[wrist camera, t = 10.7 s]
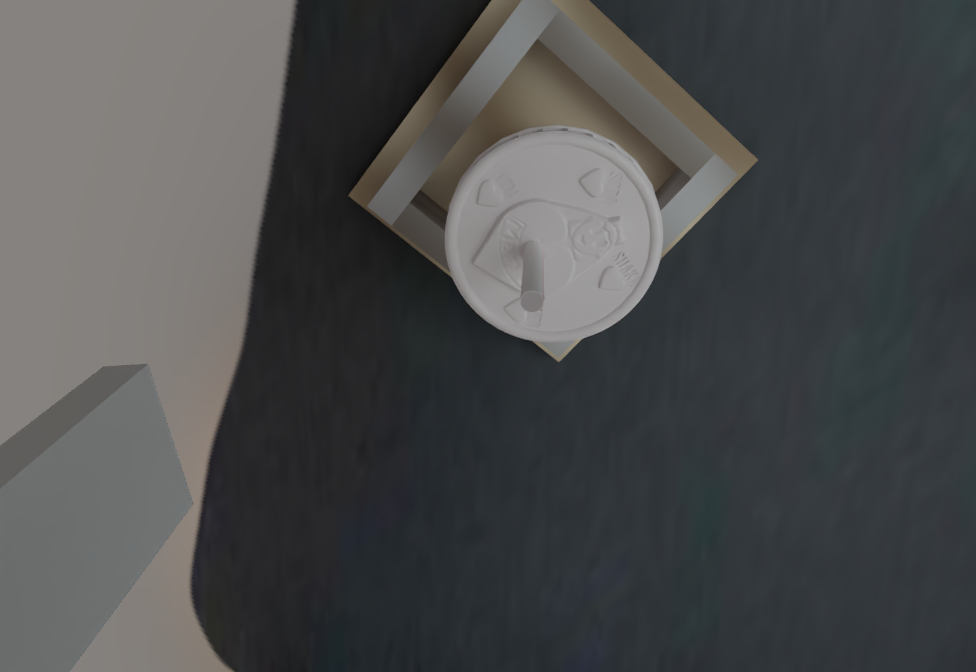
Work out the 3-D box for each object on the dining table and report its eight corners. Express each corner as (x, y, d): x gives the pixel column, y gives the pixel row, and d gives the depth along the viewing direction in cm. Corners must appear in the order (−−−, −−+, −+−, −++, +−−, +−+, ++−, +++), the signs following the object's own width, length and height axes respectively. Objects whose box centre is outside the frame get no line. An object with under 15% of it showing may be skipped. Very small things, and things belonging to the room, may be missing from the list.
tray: (531, -51, 26) (530, -63, 23) (751, 155, 29) (777, 171, 26) (353, 190, 30) (331, 209, 27) (558, 353, 33) (560, 387, 30)
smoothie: (455, 119, 28) (382, 193, 15) (612, 79, 27) (677, 121, 14) (492, 267, 30) (457, 437, 18) (639, 235, 29) (714, 392, 17)
